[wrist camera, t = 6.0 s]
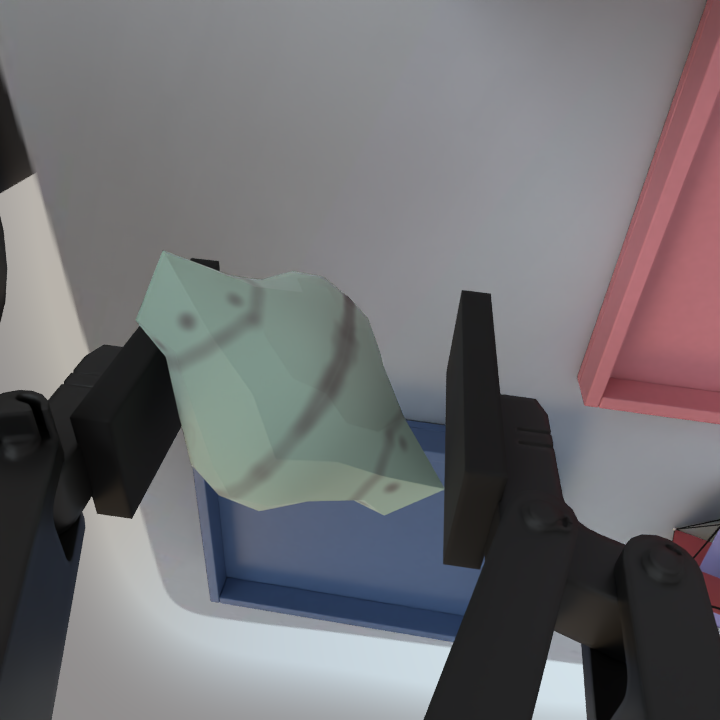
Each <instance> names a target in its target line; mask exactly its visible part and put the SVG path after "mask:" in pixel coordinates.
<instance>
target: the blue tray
mask: <svg viewBox="0 0 720 720" xmlns="http://www.w3.org/2000/svg"><path fill="white" fill-rule="evenodd" d="M406 422H407V423H408V425H409V427H410V429H411V430H412V432H413V434H414V436H415V437H416V439H417V441H418V443H419V444H420V446H421V448H422V450H423V451H424V453H425V455H426V457H427V458H428V460H429V462H430V464H431V465H432V467H433V469H434V471H435V472H436V474H437V476H438V478H439V479H440V481H441V483H442V485H443V486H444V481H445V426H446V425H439V424H432V423H424V422H417V421H410V420H406ZM192 467H193V466H192ZM193 474H194V482H195V489H196V496H197V504H198V511H199V519H200V526H201V534H202V541H203V548H204V556H205V563H206V571H207V578H208V585H209V593H210V600H211V601H212V602H218V603H219V602H220V603H224V604H230V605H236V606H242V607H248V608H254V609H260V610H265V611H271V612H277V613H283V614H289V615H295V616H301V617H307V618H313V619H319V620H325V621H331V622H337V623H343V624H349V625H355V626H361V627H367V628H373V629H379V630H385V631H391V632H397V633H403V634H409V635H415V636H421V637H427V638H432V639H438V640H444V641H450V642H454V640H455V637H456V635H457V632H458V630H459V627H460V624H461V622H462V619H463V617H464V614H465V612H466V609H467V606H468V604H469V601H470V599H471V596H472V594H473V591H474V588H475V586H476V583H477V581H478V578H479V575H480V573H481V570H482V568H483V565H484V563H485V555H484V559H483V562H482V565H481V569H480V570H478V569H471V568H465V567H458V566H451V565H444V564H443V535H444V490H442V491H440V492H438V493H435V494H433V495H431V496H428V497H426V498H424V499H421V500H419V501H417V502H414V503H412V504H410V505H407V506H405V507H403V508H400V509H398V510H396V511H393V512H391V513H389V514H387V515H382V514H380V513H378V512H376V511H374V510H372V509H370V508H368V507H366V506H364V505H362V504H360V503H358V502H356V501H354V500H345V501H307V502H302V503H297V504H292V505H287V506H283V507H278V508H273V509H268V510H263V511H257V510H255V509H252V508H250V507H247V506H245V505H242V504H240V503H237V502H235V501H232V500H230V499H227V498H225V497H222V496H220V495H218V494H217V493H216V492H215V490H214V489H213V488H212V487H211V486H210V485H209V484H208V483H207V482H206V480H205V479H204V478H203V477H202V476H201V475H200V474H199V473H198V472H197V470H196V469H195V468H194V467H193Z"/></svg>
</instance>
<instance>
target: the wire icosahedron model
mask: <svg viewBox="0 0 720 720" xmlns="http://www.w3.org/2000/svg"><path fill="white" fill-rule="evenodd" d="M719 520H720V519H719ZM719 520H715V521H719ZM710 522H714V521H710ZM705 523H709V522H705ZM705 523H701V524H705ZM696 525H700V524H696ZM717 525H720V524H717ZM717 525H708V526H717ZM691 526H695V525H691ZM687 527H688V528H697V527H690V526H687ZM698 527H707V526H698ZM677 529H687V528H686V527H682V528H677ZM677 529H676V528H673V530H674V535H673V542H674V543H676V544H678V545H679V546H681V547H682V548H684V549H685V550H686V551H687V552H688V553H689V554H690V555H691V556H692V557H693V558H694V559H695V560H696V561H697V563H698V565H699V567H700V569H701V571H702V573H703V576H704V580H705V583H706V587H707V591H708V595H709V598H710V602H711V606H712V609H713V613H714V617H715V620H716V624H717V627H718V628H720V526H719V527H718V529H717V530H716V531H715V532H714V533H713V534H712V536H711V537H710V538H709V539H708V540H707V541H706V540H703V539H700V538H698V537H695V536H692V535H690V534H687V533H684V532H681V531H679V530H677ZM718 530H719V531H718ZM717 532H718V533H717ZM716 533H717V534H716ZM715 534H716V536H715V538H714V540H713V542H712V543H711V542H709V541H710V540H711V539H712V537H713V536H714V535H715Z"/></svg>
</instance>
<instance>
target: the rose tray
mask: <svg viewBox="0 0 720 720" xmlns="http://www.w3.org/2000/svg"><path fill="white" fill-rule="evenodd" d="M577 378H578V382H579V386H580V390H581V394H582V398H583V402H584V405H585V406H591V407H598V406H599V408H605V409H612V410H619V411H627V412H634V413H641V414H649V415H656V416H663V417H671V418H678V419H685V420H693V421H700V422H707V423H714V424H720V0H707V3H706V6H705V9H704V12H703V14H702V17H701V20H700V23H699V26H698V29H697V32H696V35H695V38H694V41H693V43H692V46H691V49H690V52H689V55H688V58H687V61H686V64H685V67H684V70H683V72H682V75H681V78H680V81H679V84H678V87H677V90H676V93H675V96H674V99H673V101H672V104H671V107H670V110H669V113H668V116H667V119H666V122H665V125H664V128H663V130H662V133H661V136H660V139H659V142H658V145H657V148H656V151H655V154H654V157H653V159H652V162H651V165H650V168H649V171H648V174H647V177H646V180H645V183H644V185H643V188H642V191H641V194H640V197H639V200H638V203H637V206H636V209H635V212H634V214H633V217H632V220H631V223H630V226H629V229H628V232H627V235H626V238H625V241H624V243H623V246H622V249H621V252H620V255H619V258H618V261H617V264H616V267H615V270H614V272H613V275H612V278H611V281H610V284H609V287H608V290H607V293H606V296H605V299H604V301H603V304H602V307H601V310H600V313H599V316H598V319H597V322H596V325H595V328H594V330H593V333H592V336H591V339H590V342H589V345H588V348H587V351H586V354H585V357H584V359H583V362H582V365H581V368H580V371H579V374H578V377H577Z"/></svg>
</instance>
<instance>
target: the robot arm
mask: <svg viewBox="0 0 720 720" xmlns="http://www.w3.org/2000/svg"><path fill="white" fill-rule="evenodd" d="M190 261H193V262H196V263H198V264H201V265H204V266H206V267H209V268H212V269H214V270H217V271H220V269H219V261H212V260H204V259H195V258H191V260H190ZM180 428H181V422H180V418H179V413H178V409H177V404H176V400H175V395H174V391H173V386H172V382H171V378H170V373H169V369H168V364H167V360H166V357H165V355H164V354H163V353H162V352H161V351H160V349H159V348H158V347H157V346H156V345H155V343H154V342H153V341H152V340H151V338H150V337H149V336H148V335H147V334H146V332H145V331H144V330H143V329H142V327H141V326H139V327H138V329H137V330H136V331H135V332H134V334H133V335H132V336H131V338H130V339H129V340H128V342H127V343H126V344H125V345H124V347H118V346H111V345H103V346H101V347H99V348H98V349H96V350H94V351H93V352H91V353H89V354H88V355H86V356H85V357H84V358H83V359H82V361H81V362H80V363H79V364H78V365H77V367H76V368H75V369H74V372H73V373H71V374H70V375H69V376H68V377H67V378H66V380H65V381H64V384H62V385H61V386H60V387H59V388H58V389H57V390H56V392H55V393H54V394H53V395H52V396H51V398H50V399H49V400H47V399H46V398H45V397H44V396H43V395H42V394H39V393H37V392H34V391H25V390H17V391H11V392H6V393H2V394H0V720H51V719H52V714H53V707H54V702H55V697H56V691H57V685H58V679H59V674H60V668H61V662H62V657H63V651H64V645H65V640H66V634H67V628H68V622H69V617H70V611H71V605H72V600H73V594H74V588H75V582H76V577H77V571H78V566H79V560H80V554H81V549H82V542H83V537H84V531H85V520H84V516H83V513H82V511H83V509H84V508H85V506H86V505H87V503H88V501H89V500H90V498H91V497H93V500H94V504H95V508H96V511H97V514H103V515H110V516H117V517H124V518H131V519H132V518H133V516H134V514H135V512H136V510H137V508H138V506H139V504H140V503H141V501H142V499H143V497H144V495H145V493H146V491H147V489H148V488H149V486H150V484H151V482H152V480H153V478H154V476H155V475H156V473H157V471H158V469H159V467H160V465H161V463H162V461H163V460H164V458H165V456H166V454H167V452H168V450H169V448H170V446H171V445H172V443H173V441H174V439H175V437H176V435H177V433H178V432H179V430H180ZM550 433H551V430H550V425H549V419H548V415H547V413H546V412H545V411H544V409H543V408H542V407H541V405H540V404H539V403H538V401H537V400H536V399H533V398H525V397H517V396H509V395H502V394H500V386H499V376H498V365H497V354H496V344H495V333H494V323H493V312H492V302H491V294H489V293H481V292H473V291H464V290H462V292H461V298H460V303H459V308H458V314H457V319H456V324H455V330H454V335H453V340H452V346H451V351H450V356H449V361H448V367H447V372H446V426H445V481H444V535H443V564H444V565H451V566H458V567H465V568H471V569H478V570H480V569H481V565H482V562H483V559H484V555H485V563H484V565H483V568H482V570H481V573H480V575H479V578H478V581H477V583H476V586H475V588H474V591H473V594H472V596H471V599H470V601H469V604H468V606H467V609H466V612H465V614H464V617H463V619H462V622H461V624H460V627H459V630H458V632H457V635H456V637H455V640H454V643H453V645H452V648H451V651H450V653H449V655H448V658H447V661H446V663H445V666H444V668H443V671H442V674H441V676H440V679H439V681H438V684H437V687H436V689H435V692H434V694H433V697H432V699H431V702H430V705H429V707H428V710H427V712H426V715H425V717H424V720H532V716H533V712H534V708H535V704H536V700H537V696H538V692H539V688H540V684H541V680H542V676H543V672H544V668H545V664H546V660H547V656H548V652H549V648H550V644H551V640H552V636H553V632H554V631H556V632H558V633H560V634H562V635H564V636H567V637H569V638H571V639H573V640H575V641H577V642H579V643H581V646H582V659H583V672H584V686H585V697H586V698H585V699H586V712H587V720H720V635H719V632H718V628H717V624H716V620H715V617H714V613H713V609H712V606H711V602H710V598H709V595H708V591H707V587H706V583H705V580H704V576H703V573H702V571H701V569H700V567H699V565H698V563H697V561H696V560H695V559H694V558H693V557H692V556H691V555H690V554H689V553H688V552H687V551H686V550H685V549H684V548H682V547H681V546H679V545H678V544H676V543H674V542H673V541H671V540H668V539H666V538H663V537H660V536H657V535H643V534H642V535H639V536H636V537H633V538H631V539H630V540H629V541H628V542H627V544H626V545H625V544H622V543H620V542H617V541H615V540H612V539H610V538H607V537H605V536H602V535H600V534H598V533H596V532H594V531H592V530H590V529H588V528H587V527H585V526H584V525H583V524H581V523H580V522H579V521H578V519H577V517H576V515H575V514H574V512H573V510H572V509H571V508H570V507H569V506H568V505H567V504H566V503H565V502H564V499H563V495H562V489H561V484H560V478H559V473H558V468H557V462H556V457H555V452H554V449H553V441H552V435H550Z"/></svg>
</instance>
